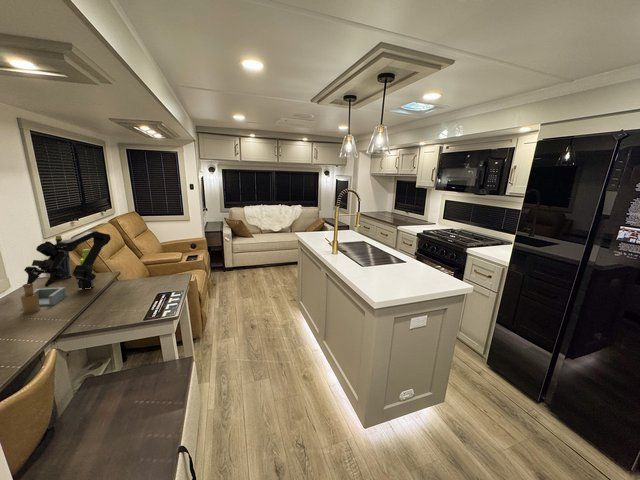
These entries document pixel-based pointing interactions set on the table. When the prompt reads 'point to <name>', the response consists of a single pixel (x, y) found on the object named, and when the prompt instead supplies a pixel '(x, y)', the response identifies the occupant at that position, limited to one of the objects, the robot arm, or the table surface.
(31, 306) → the amber bottle
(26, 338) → the table surface
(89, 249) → the soap dispenser
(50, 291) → the u rest
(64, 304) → the table surface
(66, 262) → the bottle
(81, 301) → the table surface
